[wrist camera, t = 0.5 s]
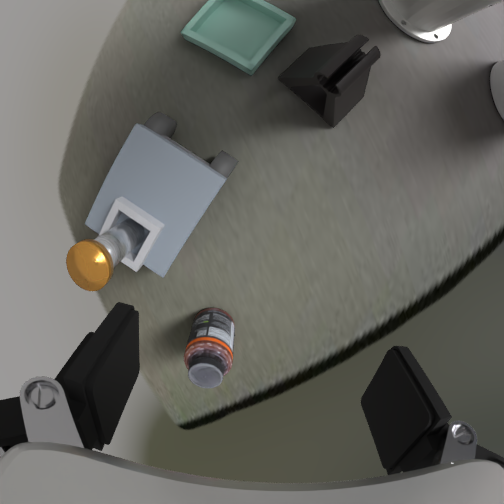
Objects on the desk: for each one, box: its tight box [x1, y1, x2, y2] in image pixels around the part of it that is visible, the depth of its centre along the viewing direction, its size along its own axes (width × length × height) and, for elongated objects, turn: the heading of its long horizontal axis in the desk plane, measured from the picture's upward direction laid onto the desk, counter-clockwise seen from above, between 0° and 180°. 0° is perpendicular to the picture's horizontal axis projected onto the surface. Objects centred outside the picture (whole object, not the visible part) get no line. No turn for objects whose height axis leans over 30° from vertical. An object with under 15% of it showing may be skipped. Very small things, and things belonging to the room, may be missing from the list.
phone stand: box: [278, 35, 380, 128], centre depth 25 cm, size 9×6×12 cm, turn 48°
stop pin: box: [66, 218, 144, 291], centre depth 25 cm, size 4×4×10 cm
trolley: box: [85, 112, 239, 277], centre depth 31 cm, size 11×15×9 cm
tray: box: [181, 0, 296, 76], centre depth 27 cm, size 9×10×3 cm
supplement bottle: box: [184, 308, 235, 388], centre depth 36 cm, size 6×6×11 cm
